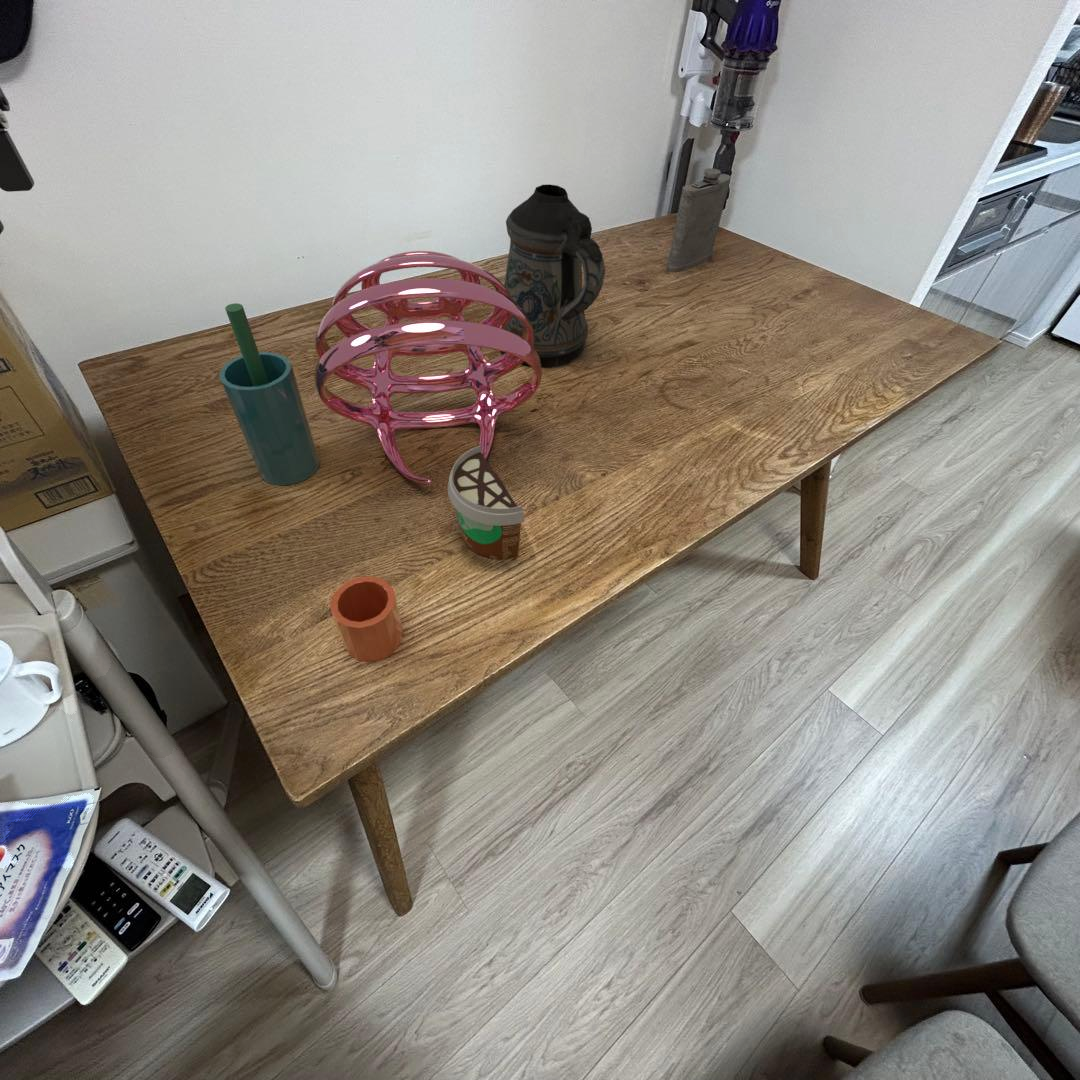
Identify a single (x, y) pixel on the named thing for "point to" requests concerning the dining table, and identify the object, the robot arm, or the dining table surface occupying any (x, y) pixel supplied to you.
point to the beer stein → (552, 273)
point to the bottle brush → (246, 344)
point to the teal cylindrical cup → (272, 419)
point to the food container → (484, 508)
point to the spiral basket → (424, 348)
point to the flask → (698, 220)
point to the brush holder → (367, 618)
